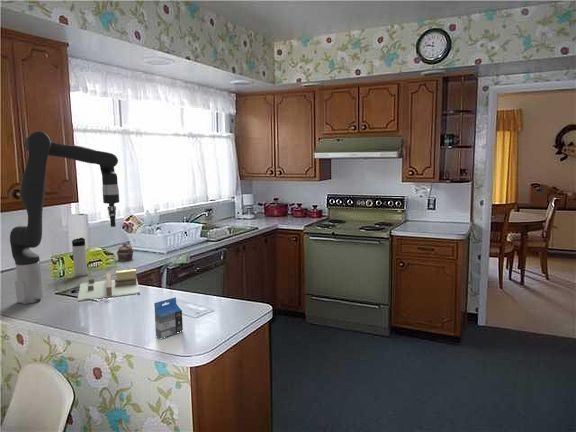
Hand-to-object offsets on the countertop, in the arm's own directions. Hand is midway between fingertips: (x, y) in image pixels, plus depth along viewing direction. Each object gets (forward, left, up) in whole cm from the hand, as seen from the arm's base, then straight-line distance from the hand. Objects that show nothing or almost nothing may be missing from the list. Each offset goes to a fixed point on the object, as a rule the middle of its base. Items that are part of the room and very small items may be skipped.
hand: (113, 225), depth 222 cm
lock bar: (-5, -12, -27) cm, 30 cm away
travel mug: (-4, +22, -28) cm, 36 cm away
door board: (-14, -11, -28) cm, 33 cm away
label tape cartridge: (-40, -73, -28) cm, 88 cm away
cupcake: (+32, +29, -28) cm, 52 cm away
